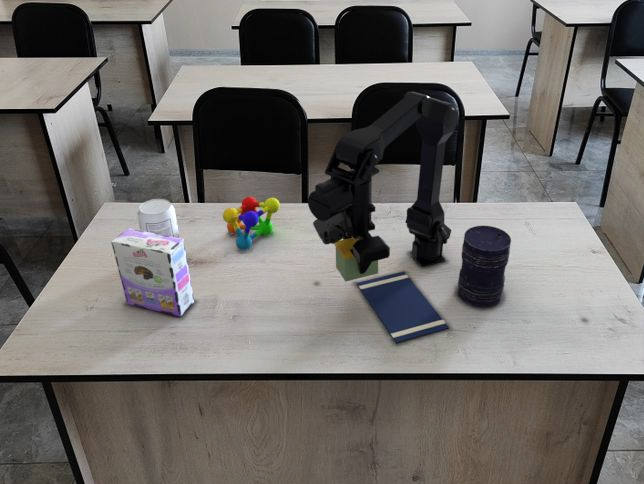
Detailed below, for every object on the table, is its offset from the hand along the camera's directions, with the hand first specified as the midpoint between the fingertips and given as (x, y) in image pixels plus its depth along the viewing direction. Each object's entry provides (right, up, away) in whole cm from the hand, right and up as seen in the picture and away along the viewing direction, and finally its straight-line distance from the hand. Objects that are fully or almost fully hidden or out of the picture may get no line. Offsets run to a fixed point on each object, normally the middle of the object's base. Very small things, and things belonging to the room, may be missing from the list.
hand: (356, 265), depth 124 cm
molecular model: (-27, +4, +28) cm, 39 cm away
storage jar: (+27, -7, +10) cm, 30 cm away
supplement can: (-46, -1, +21) cm, 50 cm away
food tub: (0, -1, +1) cm, 1 cm away
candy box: (-43, -9, +7) cm, 44 cm away
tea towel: (+9, -9, +7) cm, 15 cm away
